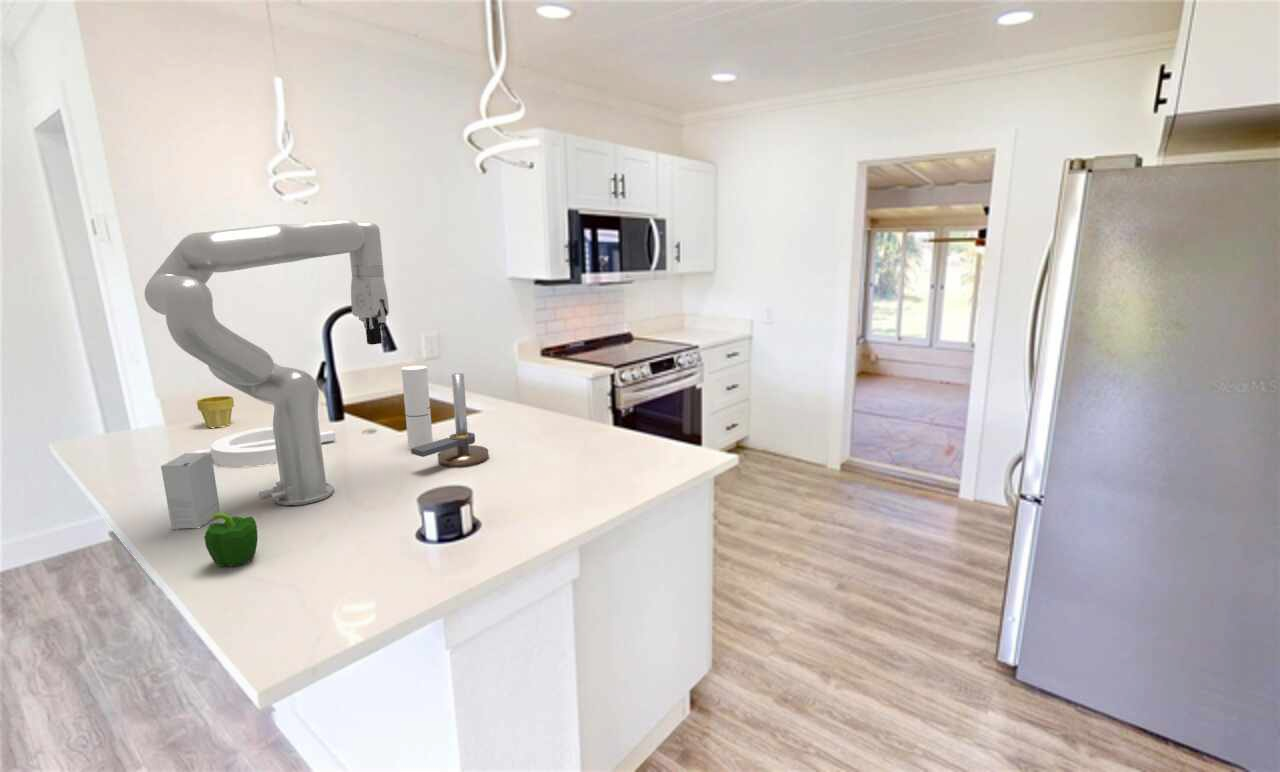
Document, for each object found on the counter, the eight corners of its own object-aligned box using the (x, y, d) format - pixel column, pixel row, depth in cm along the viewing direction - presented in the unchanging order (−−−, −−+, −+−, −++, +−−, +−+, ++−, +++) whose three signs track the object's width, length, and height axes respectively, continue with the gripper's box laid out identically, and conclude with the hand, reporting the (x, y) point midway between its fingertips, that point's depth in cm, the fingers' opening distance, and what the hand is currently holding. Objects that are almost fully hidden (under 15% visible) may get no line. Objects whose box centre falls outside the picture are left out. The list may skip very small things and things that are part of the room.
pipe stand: (459, 470, 164) (453, 381, 158) (427, 461, 171) (420, 375, 166) (498, 457, 175) (493, 373, 170) (467, 448, 183) (461, 368, 178)
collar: (425, 458, 158) (424, 451, 158) (409, 454, 162) (408, 446, 161) (479, 441, 173) (479, 434, 173) (464, 437, 177) (463, 431, 176)
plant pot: (235, 420, 217) (231, 394, 215) (238, 426, 209) (234, 399, 207) (200, 425, 211) (195, 398, 209) (202, 431, 203) (197, 403, 201)
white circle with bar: (188, 465, 170) (186, 449, 169) (265, 437, 197) (263, 423, 196) (274, 471, 165) (272, 454, 164) (341, 441, 192) (339, 427, 191)
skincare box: (194, 514, 136) (184, 452, 133) (222, 513, 137) (212, 451, 134) (170, 531, 128) (158, 464, 125) (200, 529, 129) (188, 463, 126)
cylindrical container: (437, 444, 187) (430, 365, 182) (426, 451, 180) (420, 370, 175) (415, 443, 188) (408, 365, 183) (404, 450, 181) (396, 369, 176)
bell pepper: (271, 551, 119) (265, 504, 117) (243, 572, 111) (235, 522, 109) (230, 550, 119) (223, 503, 117) (199, 571, 111) (190, 521, 109)
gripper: (337, 272, 154) (345, 343, 158) (370, 273, 146) (377, 347, 150) (365, 272, 160) (371, 340, 164) (398, 272, 152) (404, 344, 156)
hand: (374, 343), depth 157 cm, fingers closed
